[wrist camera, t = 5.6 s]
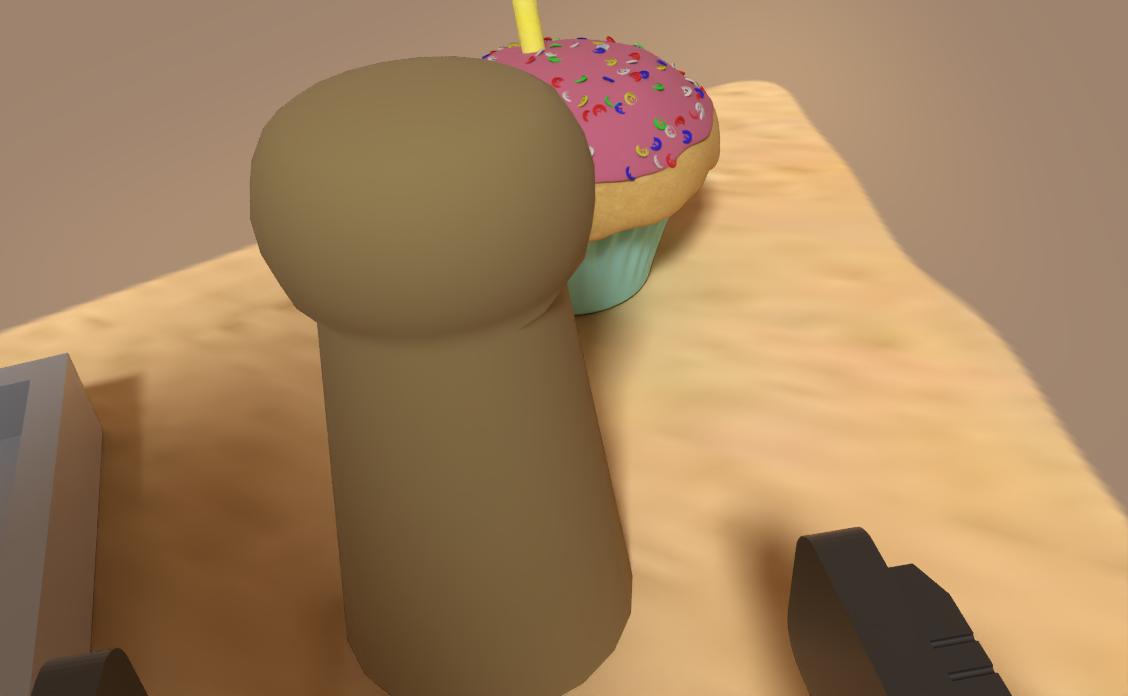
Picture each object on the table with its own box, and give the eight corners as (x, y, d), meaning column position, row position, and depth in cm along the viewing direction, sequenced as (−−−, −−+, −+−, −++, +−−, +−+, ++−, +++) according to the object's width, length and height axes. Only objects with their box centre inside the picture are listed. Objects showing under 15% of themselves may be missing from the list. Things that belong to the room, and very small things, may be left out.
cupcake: (383, 288, 30) (297, -134, 23) (563, 185, 35) (538, -189, 28) (594, 394, 25) (569, -99, 18) (768, 257, 30) (801, -173, 23)
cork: (320, 537, 22) (175, 59, 15) (568, 458, 23) (533, -5, 17) (382, 768, 17) (212, 227, 11) (685, 650, 19) (698, 117, 12)
